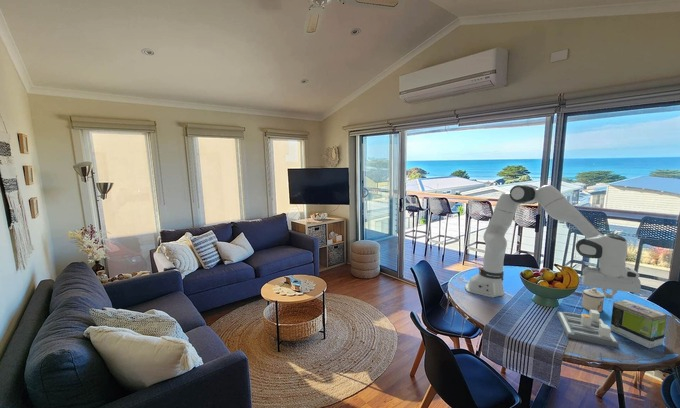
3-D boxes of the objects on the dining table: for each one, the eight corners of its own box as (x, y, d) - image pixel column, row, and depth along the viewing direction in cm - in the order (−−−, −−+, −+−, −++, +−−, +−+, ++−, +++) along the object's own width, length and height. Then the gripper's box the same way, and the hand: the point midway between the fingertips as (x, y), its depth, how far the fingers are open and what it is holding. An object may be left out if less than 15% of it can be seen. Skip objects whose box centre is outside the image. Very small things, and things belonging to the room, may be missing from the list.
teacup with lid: (601, 314, 155) (604, 293, 153) (579, 308, 162) (582, 288, 160) (604, 306, 163) (607, 286, 161) (583, 301, 170) (585, 282, 168)
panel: (567, 337, 136) (568, 323, 135) (557, 314, 156) (558, 302, 155) (618, 347, 128) (620, 333, 127) (600, 322, 148) (602, 309, 147)
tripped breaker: (582, 327, 141) (583, 316, 140) (580, 323, 144) (581, 313, 143) (590, 328, 139) (591, 318, 139) (588, 324, 143) (589, 314, 142)
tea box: (663, 344, 130) (668, 313, 127) (648, 349, 127) (653, 317, 125) (623, 326, 144) (626, 298, 142) (608, 330, 141) (612, 301, 139)
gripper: (584, 268, 136) (582, 296, 138) (644, 275, 127) (640, 304, 129) (581, 264, 141) (578, 290, 143) (637, 270, 132) (633, 298, 135)
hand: (608, 297), depth 136 cm, fingers closed
